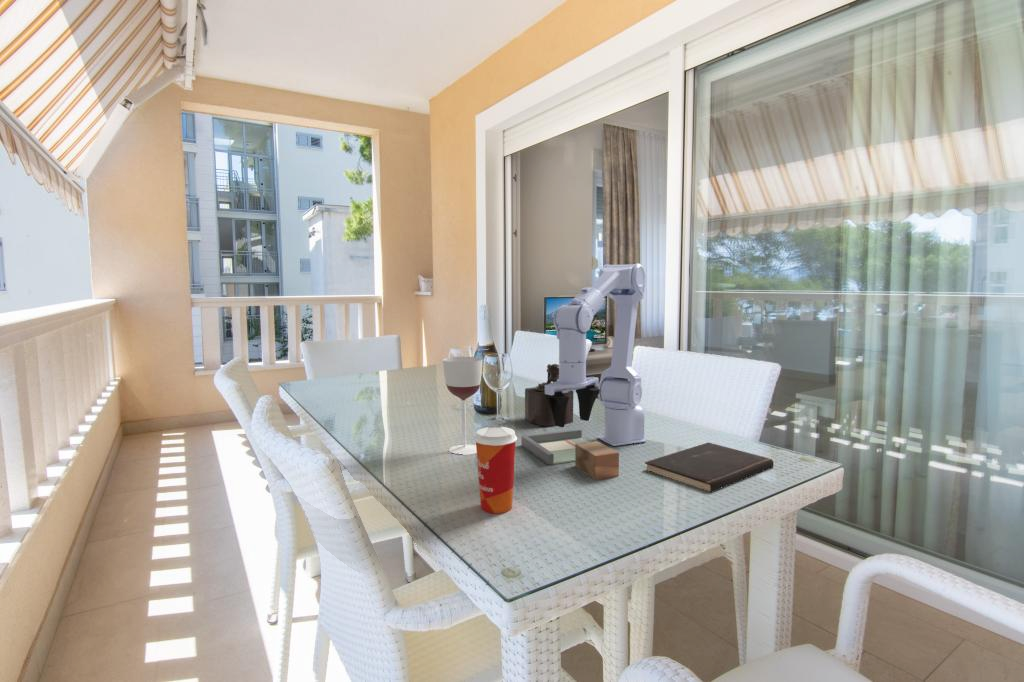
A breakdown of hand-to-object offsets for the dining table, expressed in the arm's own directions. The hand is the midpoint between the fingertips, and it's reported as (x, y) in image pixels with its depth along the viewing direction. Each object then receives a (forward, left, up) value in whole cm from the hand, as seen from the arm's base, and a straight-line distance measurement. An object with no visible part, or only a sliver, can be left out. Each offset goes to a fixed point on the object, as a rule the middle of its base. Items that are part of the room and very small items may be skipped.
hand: (572, 423), depth 120 cm
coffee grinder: (-11, -34, -10) cm, 37 cm away
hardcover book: (-26, +13, -10) cm, 31 cm away
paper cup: (+23, +15, -10) cm, 29 cm away
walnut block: (-3, +5, -10) cm, 11 cm away
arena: (-3, -10, -10) cm, 14 cm away
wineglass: (+19, -20, -10) cm, 29 cm away
